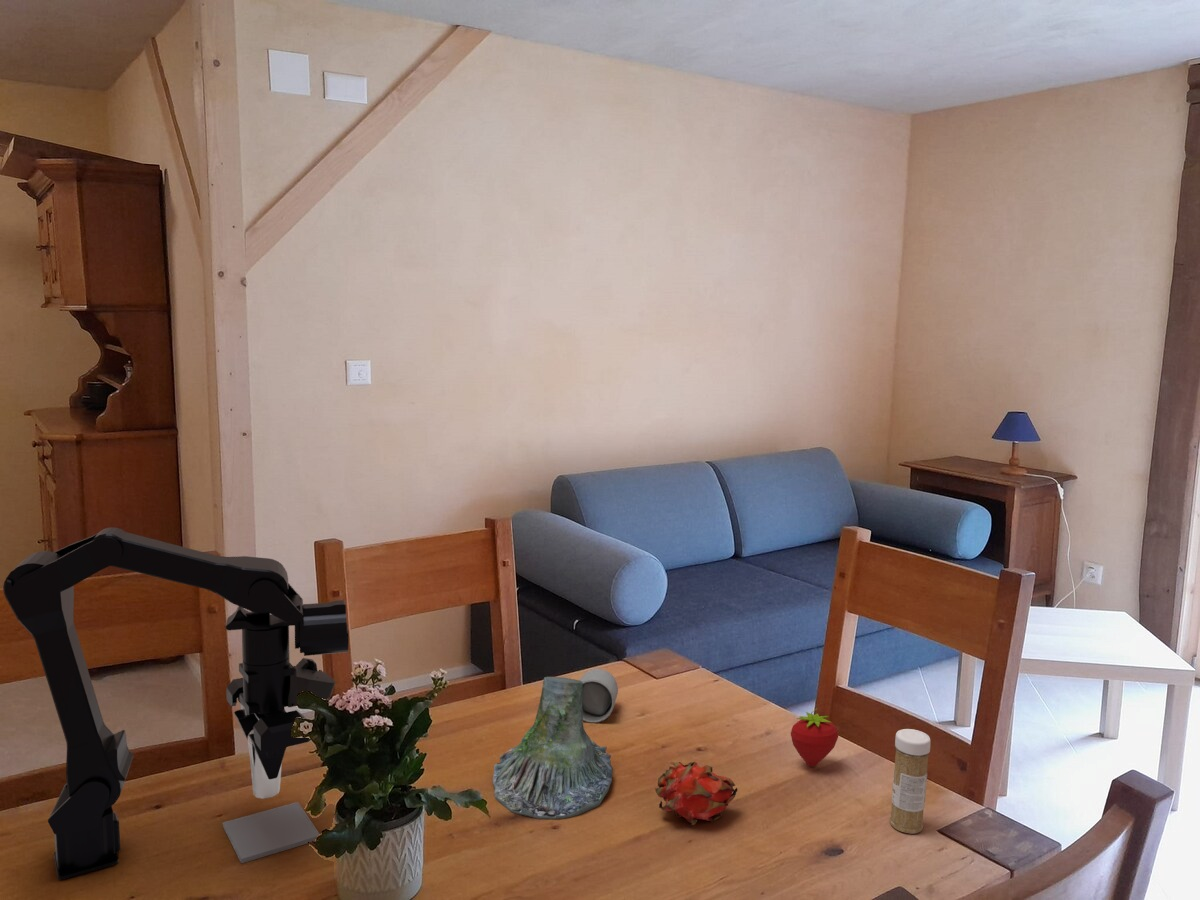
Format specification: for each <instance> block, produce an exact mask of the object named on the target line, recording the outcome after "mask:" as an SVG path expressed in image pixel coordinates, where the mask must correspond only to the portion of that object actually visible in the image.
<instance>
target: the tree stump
mask: <svg viewBox="0 0 1200 900" xmlns="http://www.w3.org/2000/svg"><path fill="white" fill-rule="evenodd" d="M579 680H580V679H579ZM579 680H578V679H575V678H570V677H569V678H568V677H560V676H544V677H543V681H542V689H541V691H540V692H541V695H540V697H539V704H538V708H537V711H536V716H535V719H534V722H533V724H532V726H531V727H530V728H529V729H528V730H527V731H526V732H525V734H524V736H523V737H522V738H521V741H520V742H519V744H518V745H516V746H515V747H511V748H510V749H509V750H507V751H506V752H504V753H503V754H501V755H499V762H497V763H495V764H494V765H493V776H492V784H493V788H494V799H495V800H496V801H497V802H499V804H501V805H502V806H503V807H504V808H506V810H508V811H510V812H511V813H513V814H517V815H521V816H525V817H528V818H533V819H538V820H562V819H568V818H573V817H576V816H580V815H582V814H584V813H586V812H589V811H591V810H593V809H595V808H598V807H599V806H600V805H601V803H602V802H603V800H604V799H605V797H606V795H607V793H608V792H609V790H610V788H611V784H612V781H613V774H614V773H613V770H614V768H613V765H612V761H611V757H612V755H611V754H609V753H607V746H600V745H598V744H597V743H596V742H595V741H594V740H593V739H591V737H590V735H588V734H587V732H586V730H585V727H584V721H583V712H582V691H583V687H582V686H583V685H582V684H583V682H582V681H579Z"/></svg>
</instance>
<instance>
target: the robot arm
mask: <svg viewBox="0 0 1200 900" xmlns="http://www.w3.org/2000/svg"><path fill="white" fill-rule="evenodd" d="M108 567H114V568H118V569H122V570H125V571H131V572H135V573H138V574H143V575H146V576H150V577H155V578H159V579H163V580H168V581H170V582H171V581H172V582H175V583H180V584H184V585H187V586H191V587H196V588H199V589H204V590H207V591H209V592H211V593H214V594H216V595H218V596H220V597H221V598H223V599H225V600H226V601H227V602H229V603H230V604H233V605H235V606H237V608H236V610H235V611H234V612H233V613H232V614H231V615H229V616H228V617H226V618H227V619H226V622H225V630H226V631H237V630H241V649H242V651H241V652H242V653H241V654H242V657H241V658H242V662H241V663H238V671H239V673H240V674H241V676H242V677H239V678H234V679H232V680H231V682H230V683H229V684H228V685H227V686H226V701H227V702H228V704H229V705H230V707H236V705H237V703H239V704H240V709H237V710H235V711H234V716H235V718H236V719H237V723H238V725H239V726H240V728H241V730H242V732H243V734H244V736H245V738H246V741H248V735H249V737H250V739H251V742H252V744H253V746H254V748H255V750H256V753H257V755H258V757H259V759H260V761H261V764H262V766H263V768H264V770H265V773H266V775H267V777H268V779H274V778H277V777H278V774H279V770H280V767H281V763H282V764H283V759H284V756H285V753H286V749H287V748H288V747H293V746H298V745H301V744H306V743H309V742H310V741H312V739H309V738H293V737H291V729H292V726H293V724H294V720H295V718H296V717H301V718H305V719H307V718H306V717H305V715H304V714H303V713H301V712H300V711H298V710H297V709H296V710H295V709H294V710H292V711H286V709H285V708H286V707H287V708H294V707H298V706H297V695H298V693H300V692H302V691H310V692H312V693H313V694H314V695H316V696H318V697H320V698H323V699H327V698H328V697H330V698H331V696H332V694H333V690H334V688H335V685H336V681H335V680H334V679H333V677H331V676H330V675H329V674H328V673H327V672H325V671H323V670H322V669H319V670H318V666H317V663H316V662H315V660H314V659H311V658H306V656H307V657H308V656H319V655H331V654H342V653H343V654H344V653H349V645H350V644H349V633H350V632H349V629H348V623H347V605H346V601H345V600H343V599H338V600H333V601H329V602H320V603H318V602H317V603H304V599H303V598H302V596H300V593H298V592H297V590H295V588H293V586H292V585H291V583H289V576H288V572H287V570H286V568H285V566H284V565H283V563H281V562H279V561H277V560H276V559H273V558H267V557H256V556H245V555H242V556H222V555H221V556H220V555H216V554H212V553H208V552H206V551H205V552H203V551H200V550H196V549H192V548H189V547H184V546H181V545H177V544H173V543H171V542H170V543H169V542H165V541H161V540H159V539H153V538H149V537H146V536H142V535H138V534H135V533H131V532H127V531H125V530H124V529H121V528H119V527H112V526H110V527H106V528H104V529H102V530H100V531H99V532H98V533H95V534H93V535H92V536H89V537H86V538H84V539H82V540H78V541H75V542H73V543H71V544H68V545H67V546H64V547H62V548H60V549H57V550H55V551H50V550H44V551H43V550H42V551H41V550H40V551H37V552H34V553H31V554H29V555H28V556H27V557H25V558H24V559H23V560H22V561H21V562H20V563H18V564H17V566H15V567H14V568H13V569H12V570H11V571H10V572H9V574H8V575H7V577H6V578H5V580H4V582H3V586H2V588H3V589H2V590H3V595H4V598H5V600H6V602H7V603H8V605H9V607H10V608H11V610H12V612H13V614H14V616H15V617H16V619H17V621H18V622H19V623H20V624H21V625H22V626H23V627H24V629H25V630H27V632H28V633H30V635H31V636H32V638H33V640H34V642H35V646H36V649H37V652H38V656H39V658H40V662H41V665H42V668H43V671H44V675H45V677H46V681H47V684H48V688H49V691H50V694H51V697H52V700H53V703H54V707H55V711H56V713H57V715H58V716H57V717H58V720H59V724H60V726H61V729H62V732H63V735H64V739H65V742H66V760H65V761H66V763H65V766H66V767H65V778H66V783H65V784H64V785H63V788H62V790H61V792H60V793H59V797H58V799H57V800H56V803H55V805H54V807H53V809H52V811H51V813H50V815H49V817H48V819H47V823H48V825H49V826H50V828H51V830H52V832H53V834H54V846H55V848H54V849H55V851H54V852H53V857H54V864H55V869H56V875H57V879H58V880H60V881H61V880H62V881H63V880H65V879H69V878H73V877H76V876H80V875H83V874H86V873H90V872H93V871H97V870H100V869H104V868H108V867H112V866H115V865H116V864H118V863H119V857H118V853H119V852H121V835H120V833H121V832H120V820H119V818H118V817H119V816H118V814H117V813H116V812H114V809H113V805H115V803H116V802H117V801H118V800H119V798H120V796H121V793H122V790H123V788H124V785H125V783H126V779H127V776H128V773H129V770H130V767H131V764H132V763H133V759H134V754H133V753H132V751H130V749H129V746H128V743H127V734H126V730H124V729H122V730H119V731H118V732H116V733H113V731H111V730H110V728H109V727H107V726H106V724H105V722H104V718H103V715H102V712H101V708H100V705H99V702H98V699H97V696H96V693H95V689H94V686H93V683H92V679H91V675H90V672H89V669H88V666H87V663H86V660H85V659H86V658H85V656H84V652H83V649H82V646H81V642H80V639H79V636H78V632H77V629H76V625H75V623H74V607H75V602H74V601H75V588H74V586H75V585H77V584H79V583H81V582H83V581H85V580H86V579H87V578H89V577H91V576H93V575H95V574H96V573H99V571H102V570H104V569H106V568H108ZM293 626H294V649H297V650H298V649H299V653H300V654H303V656H304V657H302V658H301V660H300V661H299V662H298V663H297V664H296V665H293V664H291V662H290V627H293ZM253 729H254V734H249V733H250V732H251V731H252V730H253ZM281 768H282V767H281Z"/></svg>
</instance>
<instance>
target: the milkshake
mask: <svg viewBox="0 0 1200 900" xmlns="http://www.w3.org/2000/svg"><path fill="white" fill-rule="evenodd" d="M249 734H254V729H253V730H252V731H251V732H250V733H249ZM247 744H248V745H247V747H248V751H249V753H248V754H249V761H250V762H249V763H250V772H251V774H250V775H251V782H252V795H253V796H254V797H255V798H257V799H262V800H266V799H272V798H273V797H275V796H277V795H279V792H280V790H281V778H282V766H283V765H282V764H283V762H282V763H281V767H280V770H279V774H278V777H277V778H274V779H268V777H267V775H266V773H265V770H264V768H263V766H262V764H261V761H260V759H259V757H258V755H257V753H256V750H255V748H254V746H253V744H252V742H251V739H250V737H249V735H248V740H247Z"/></svg>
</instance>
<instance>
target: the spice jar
mask: <svg viewBox="0 0 1200 900" xmlns="http://www.w3.org/2000/svg"><path fill="white" fill-rule="evenodd" d="M894 738H895V739H894V740H895V741H894V747H895V756H894V757H895V758H894V768H893V769H894V770H893V776H892V777H893V780H892V790H891V791H892V792H891V811H890V817H889V824H890V825H891V827H892V828H893V829H895V830H897V831H899V832H902V833H906V834H919V833H921V832H922V831H923V830H924V823H923V821H924V811H925V810H924V809H925V807H926V804H925V803H926V795H927V794H926V791H927V783H928V781H927V780H928V763H929V755H930V751H931V738H930V736H929V734H927V733H925V732H923V731H921V730H917V729H913V728H912V729H911V728H904V729H899V730H898V731H897V732H896V733H895V737H894Z"/></svg>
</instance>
